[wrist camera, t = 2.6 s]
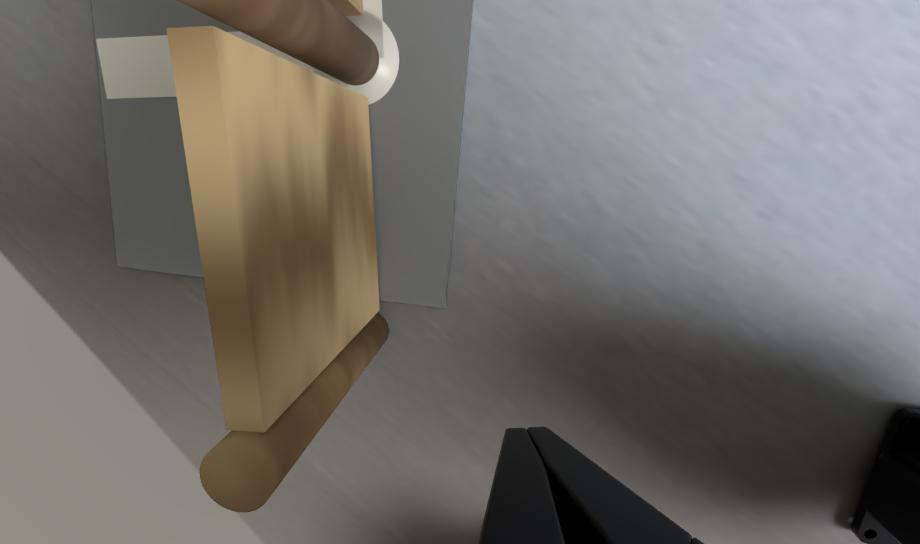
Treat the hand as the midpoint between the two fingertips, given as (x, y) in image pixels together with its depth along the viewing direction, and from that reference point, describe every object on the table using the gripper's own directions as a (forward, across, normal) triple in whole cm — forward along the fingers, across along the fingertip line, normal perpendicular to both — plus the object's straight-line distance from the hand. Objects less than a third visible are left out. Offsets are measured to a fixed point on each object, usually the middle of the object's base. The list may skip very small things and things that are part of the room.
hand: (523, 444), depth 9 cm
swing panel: (+12, -5, +1) cm, 13 cm away
